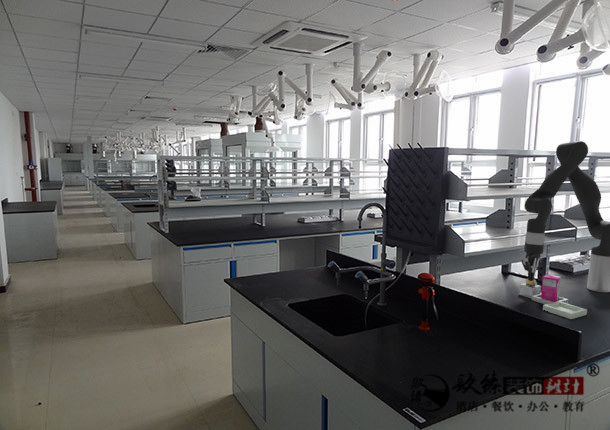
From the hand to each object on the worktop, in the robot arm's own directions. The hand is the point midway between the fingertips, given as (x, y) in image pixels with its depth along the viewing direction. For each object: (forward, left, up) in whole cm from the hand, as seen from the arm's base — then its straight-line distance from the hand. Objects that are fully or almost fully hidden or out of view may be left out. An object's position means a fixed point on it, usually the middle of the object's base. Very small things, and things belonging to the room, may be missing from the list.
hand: (530, 279), depth 181 cm
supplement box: (0, +9, -8) cm, 12 cm away
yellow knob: (0, 0, -7) cm, 7 cm away
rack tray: (+7, +19, -7) cm, 22 cm away
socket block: (0, +6, -7) cm, 10 cm away
